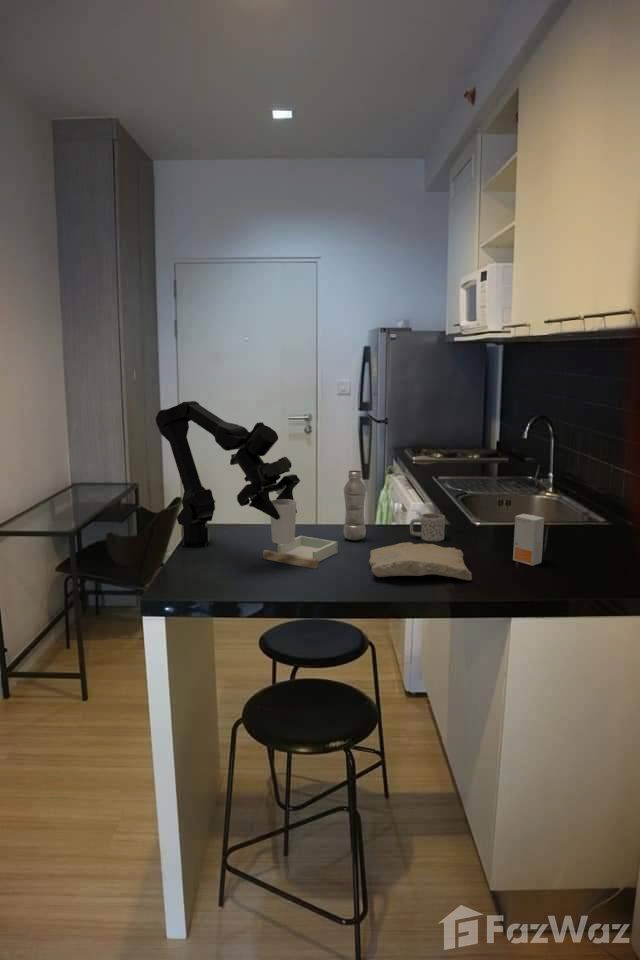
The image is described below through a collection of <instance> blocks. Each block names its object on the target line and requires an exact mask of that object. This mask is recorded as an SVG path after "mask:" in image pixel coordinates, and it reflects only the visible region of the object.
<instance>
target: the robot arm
mask: <svg viewBox="0 0 640 960" xmlns="http://www.w3.org/2000/svg"><path fill="white" fill-rule="evenodd" d="M191 421H192V422H193V423H194V424H195V425H196V424H197V426H199V427H200V428H202V429H203V430H205V431H206V432H208V433H209V434H211V435H212V436H213V438H214V440H215V442H216V444H218V446H219V447H220V448H221V449H222V450H224V451H226V452H227V451H235V450H237V451H236V452H235V453H232V454H230V457H231V458H230V461H229V465H230V466H233V465H238V466H239V467H240V469H241V471H242V472H243V473H244V475H245V477H243V479H244V481H245V483H247V482H249V483H248V484H245V485H244V487H242V489H241V490H240V492H238V494H237V495H236V501H237V503H238V504H239V506H240V507H244V506H249V508H251V507H252V508H254V509H257V510H258V511H260V512H262V513H263V514H265V515H266V516H267V515H268V516H270V518H271V517H273V518H274V519H276V520H278V519H279V518H280V516H279V514H278V512H277V510H276V508H275V507H274V505H273V504H272V502H271V501H272V499H270V493H273V492H275V493H276V494H277V496H276V498H275V500H277V499H290V500H295V498H294V495H293V494H294V493H293V492H294V489H295V488H296V486H297V485H298V484H299V483H300V482H301V479H300V478H299V477H298V476H297V474H294V473H293V474H292V473H291V474H286V475H283V474H285V473H289V472H291V470H290V469H291V468H292V467H293V465H292V462H291V461H290V459H289V458H288V457H287V456H282V457H280V458H278V459H277V460H276V461H273V462H271V463H270V462H264V461H263V459H262V457H264V456H265V457H266V455H267V454H268V453H269V452H270V450H271V449H272V447H274V445H275V444H276V443H277V441H278V440H279V436H278V433H277V431H276V430H274V429H273V428H272V427H270V426H268V425H265V423H264V422H262V421H261V422H256V423H255V424H254V426H253V429H252V430H250V431H249V430H248V429H247V428H246V427H244V426H242V425H239V424H236V423H231V422H227V421H225V420H224V419H222V418H220V417H219V416H217V415H216V414H214V413H213V412H211V411H210V410H208V409H207V408H205V407H203V406H202V405H201V404H200V403H199V402H198V401H196V400H191V401H182V402H180V403H179V404H177V405H175V406H172V407H169V408H167V409H160V410H159V411H158V412H157V415H156V416H155V422H156V426H157V428H158V430H159V432H160V434H161V435H162V437H163V438H164V439H166V440H167V441H168V442H169V445H170V449H171V453H172V454H173V459H174V461H175V465H176V469H177V471H178V474H179V478H180V481H181V484H182V487H183V490H184V491H183V494H182V495H183V496H182V499H181V503H182V509H181V511H180V512H179V513H178V515H176V520H177V523H178V525H180V526H183V527H182V529H183V543H182V547H206V546H207V545H208V543H209V542H210V541H211V535H210V534H211V533H210V532H211V531H210V526H208V522H211V521H212V520H213V517H214V513H215V510H216V505H215V503H216V500H215V499H214V497H213V492H212V490H211V489H210V488H207V489H206V488H205V486H203V485H202V482H201V479H200V475H199V473H198V469H197V466H196V463H195V460H194V457H193V456H194V455H193V453H192V450H191V447H190V444H189V440H188V433H189V428H190V424H189V422H191ZM281 475H283V476H282V478H281ZM277 481H278V482H277ZM297 513H298V510H297V509H296V514H297Z"/></svg>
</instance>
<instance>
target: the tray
mask: <svg viewBox="0 0 640 960" xmlns="http://www.w3.org/2000/svg"><path fill="white" fill-rule="evenodd" d="M338 542H339V541H334V540H328V539H322V538H317V537H309V536H306V535H305V536H304V535H299V536H297V537H296V536H295V542H293V543H289V544H278V545H277V552H280V553H285V554H291V555H296V556H302V557H307V558H312V559H318V563H319V562H321V561H322V562H323V560H325V559H327V558H329V557H332V556H333V555H336V554H337V553H338V552H339V551H338V548H339V547H338V544H339V543H338Z"/></svg>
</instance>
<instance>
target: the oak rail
mask: <svg viewBox="0 0 640 960" xmlns="http://www.w3.org/2000/svg"><path fill="white" fill-rule="evenodd" d="M262 558H263V560H268V561H272V562H279V563H284V564H288V565H294V566H299V567H304V568H309V569H317V568H318V567H319V565H318V564H319V562H318V559H312V558H307V557H302V556H296V555H291V554H285V553H280V552H278V551H274V550H269V549H265V550H263V551H262Z"/></svg>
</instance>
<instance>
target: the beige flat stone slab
mask: <svg viewBox="0 0 640 960" xmlns="http://www.w3.org/2000/svg"><path fill="white" fill-rule="evenodd" d="M369 555H370V557H369V559H368V563H369V564H370V565H369V566H370V567H371V573H372V574H373V575H375V577H377V578H385V577H397V576H399V577H400V576H402V577H403V576H404V577H405V576H407V577H408V576H411V577H413V576H415V577H421V576H426V575H437V576H443V577H449V578H455V579H459V580H463V581H464V580H465V581H472V579H473V577H472V574H473V573H472V572H471V571H470V570H469V568H467V566H466V564H465V561H464V558H463V557H464V553H463V551H462V550H461V549H457V548H456V547H443V546H440V545H437V544H434V543H415V544H414V543H413V542H411V541H410V542H409V541H408V542H400V543H396V544H391V545H386V546H382V547H379V548H375V549H372V550H371V549H370V553H369Z"/></svg>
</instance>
